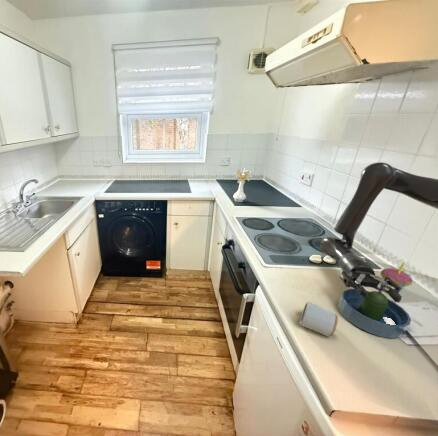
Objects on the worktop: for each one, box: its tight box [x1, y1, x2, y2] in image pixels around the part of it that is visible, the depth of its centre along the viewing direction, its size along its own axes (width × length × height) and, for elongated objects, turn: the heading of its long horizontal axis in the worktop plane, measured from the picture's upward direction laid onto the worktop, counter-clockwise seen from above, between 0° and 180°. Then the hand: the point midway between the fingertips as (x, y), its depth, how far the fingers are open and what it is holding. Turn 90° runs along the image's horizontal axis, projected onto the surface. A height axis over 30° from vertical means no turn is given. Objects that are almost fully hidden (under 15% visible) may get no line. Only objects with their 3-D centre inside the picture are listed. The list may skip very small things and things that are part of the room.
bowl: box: [337, 288, 412, 339], centre depth 76 cm, size 16×16×5 cm
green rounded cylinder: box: [358, 290, 389, 322], centre depth 75 cm, size 6×6×10 cm
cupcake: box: [379, 262, 413, 290], centre depth 89 cm, size 9×8×12 cm
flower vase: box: [232, 167, 253, 203], centre depth 180 cm, size 13×18×25 cm
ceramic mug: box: [299, 301, 339, 337], centre depth 73 cm, size 11×8×8 cm
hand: (381, 297), depth 72 cm, fingers open, 8 cm apart
